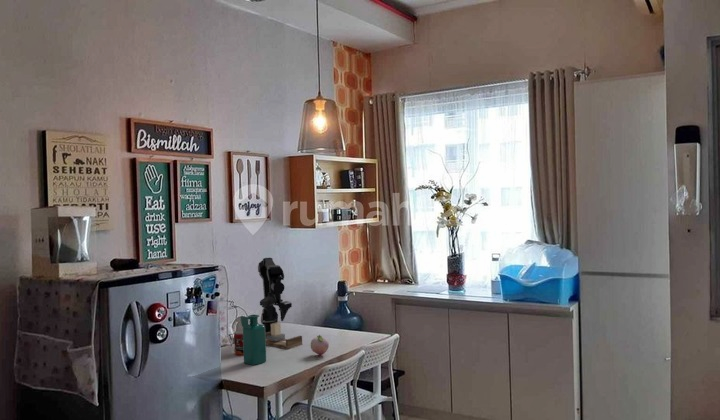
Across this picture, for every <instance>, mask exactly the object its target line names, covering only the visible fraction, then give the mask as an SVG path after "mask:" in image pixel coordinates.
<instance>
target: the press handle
mask: <svg viewBox="0 0 720 420" xmlns="http://www.w3.org/2000/svg"><path fill="white" fill-rule="evenodd" d="M281 331H282V330H281V322H276V323H272V324H271V335H267V340H269V341H274V342H276V341H279V340H283V339H286V334H284V333H281Z"/></svg>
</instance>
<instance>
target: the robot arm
mask: <svg viewBox="0 0 720 420" xmlns="http://www.w3.org/2000/svg"><path fill="white" fill-rule="evenodd" d="M273 259H274V258H272V257H265V258H262V260H261V261H260V262H258V264H257V272H258V274H259V277H260V278H261V279H262V287H263V288H262V289H263V298H262V299H260V301H259V306H261V307H262V311H261V316H260V323H261V325H263V326H265V333H267V332H271V324H272V323H276V322H277V323H279V320H278V318H279V314H278V312H277V308H276V307H275V306H277V307H278V310H279V313H280V321H281V322H284V320H285V317H286V315H287V313H288V311H289V310H290V309H291V308H292V307H293V305H292V302H291V301H287V300H286V301H284V300H283V299H282V295H283V292H284V291H285V285H284V283H283V282H282V281H284V280H285V275H284V274H285V273H284V270H283V268H282V267H281V266H280V265H279V264H275V262H274V260H273Z"/></svg>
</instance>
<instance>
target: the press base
mask: <svg viewBox="0 0 720 420" xmlns="http://www.w3.org/2000/svg"><path fill="white" fill-rule="evenodd" d="M267 335H271V332H267V333H265V336H266V346H270V347H275V348H282V349H286V350H289V349H292V348H296V347H299V346H302V345H303V335H298V336H297V335H296V336H294V337H290V338H285V339H283V340H279V341H276V342H274V341H269V340H267Z"/></svg>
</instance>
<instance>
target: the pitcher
mask: <svg viewBox="0 0 720 420" xmlns="http://www.w3.org/2000/svg"><path fill="white" fill-rule="evenodd" d="M259 317H260V315H259V314H249V315H247V316H245V315H242V316H240V323H241V326H242V330H243V352H244V355H243V363H244V364H246V365H251V366H256V365H260V364H264V363H266V362H267V345H266V336H265V326H263V324H260V323H259V321H258V320H259V319H258V318H259Z"/></svg>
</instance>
